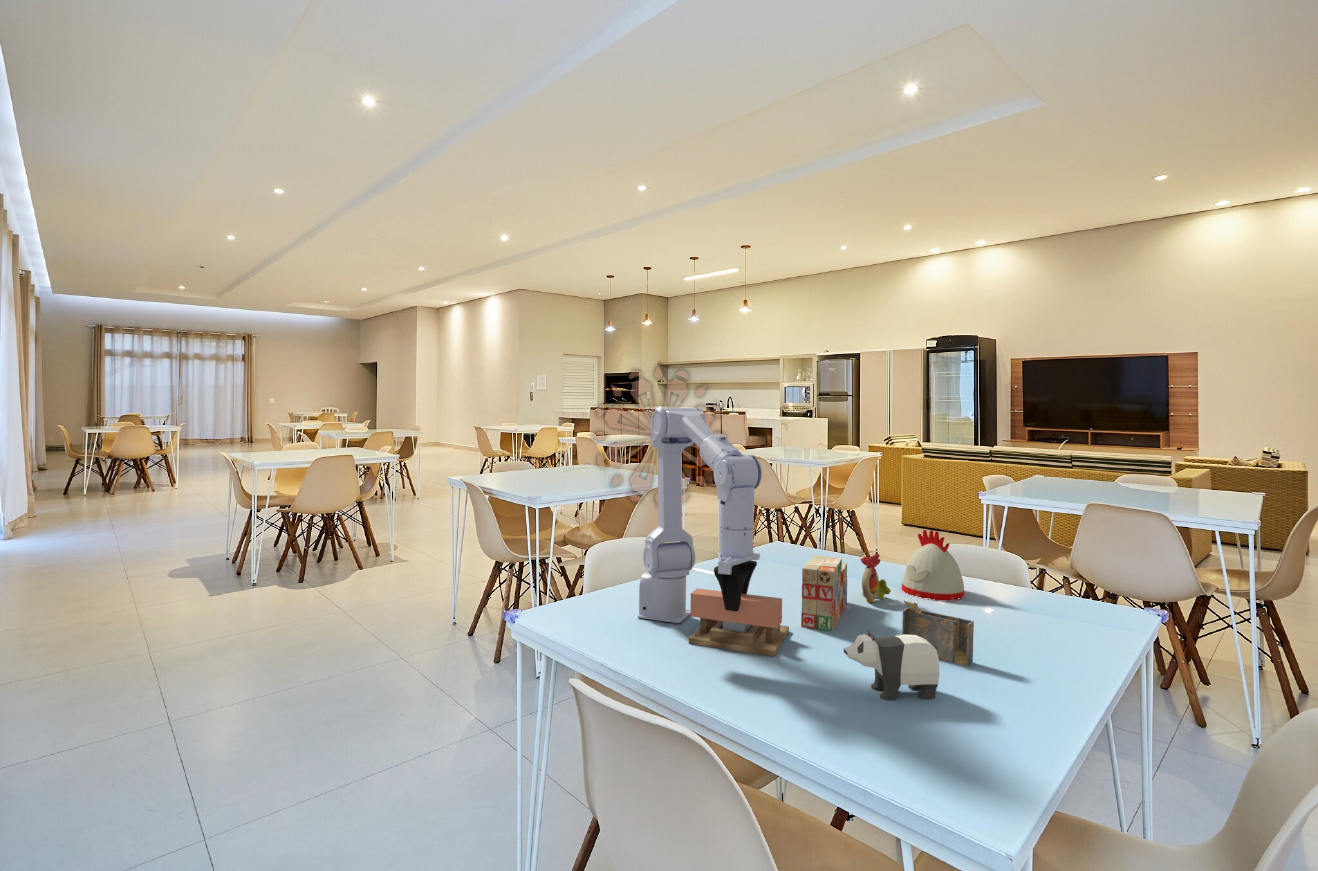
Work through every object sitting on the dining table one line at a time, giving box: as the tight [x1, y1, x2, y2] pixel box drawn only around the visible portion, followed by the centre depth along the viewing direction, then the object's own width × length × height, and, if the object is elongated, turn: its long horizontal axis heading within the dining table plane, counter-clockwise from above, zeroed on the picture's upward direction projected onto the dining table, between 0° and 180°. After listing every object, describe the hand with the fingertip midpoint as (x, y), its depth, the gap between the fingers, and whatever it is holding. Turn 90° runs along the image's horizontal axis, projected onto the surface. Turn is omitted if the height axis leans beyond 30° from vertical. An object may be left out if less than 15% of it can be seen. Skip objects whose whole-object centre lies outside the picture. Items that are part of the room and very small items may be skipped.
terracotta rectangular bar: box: [689, 587, 783, 628], centre depth 107 cm, size 15×4×4 cm, turn 68°
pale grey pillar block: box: [723, 621, 753, 633], centre depth 121 cm, size 4×10×4 cm, turn 159°
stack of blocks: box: [800, 555, 848, 632], centre depth 136 cm, size 21×6×12 cm, turn 156°
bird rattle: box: [860, 553, 892, 604], centre depth 146 cm, size 6×11×9 cm
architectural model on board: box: [901, 600, 975, 668], centre depth 113 cm, size 11×3×10 cm, turn 48°
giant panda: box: [843, 629, 941, 701], centre depth 98 cm, size 15×6×10 cm, turn 93°
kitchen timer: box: [901, 529, 965, 601], centre depth 153 cm, size 14×14×15 cm
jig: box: [688, 618, 790, 657], centre depth 121 cm, size 16×14×6 cm
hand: (735, 606), depth 107 cm, fingers closed on terracotta rectangular bar, 3 cm apart
